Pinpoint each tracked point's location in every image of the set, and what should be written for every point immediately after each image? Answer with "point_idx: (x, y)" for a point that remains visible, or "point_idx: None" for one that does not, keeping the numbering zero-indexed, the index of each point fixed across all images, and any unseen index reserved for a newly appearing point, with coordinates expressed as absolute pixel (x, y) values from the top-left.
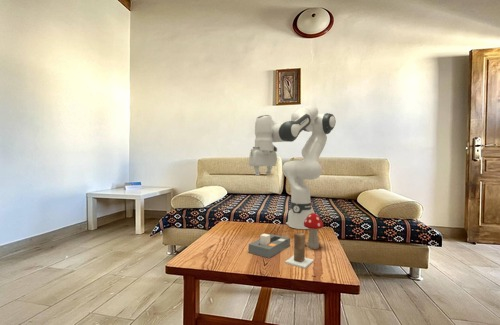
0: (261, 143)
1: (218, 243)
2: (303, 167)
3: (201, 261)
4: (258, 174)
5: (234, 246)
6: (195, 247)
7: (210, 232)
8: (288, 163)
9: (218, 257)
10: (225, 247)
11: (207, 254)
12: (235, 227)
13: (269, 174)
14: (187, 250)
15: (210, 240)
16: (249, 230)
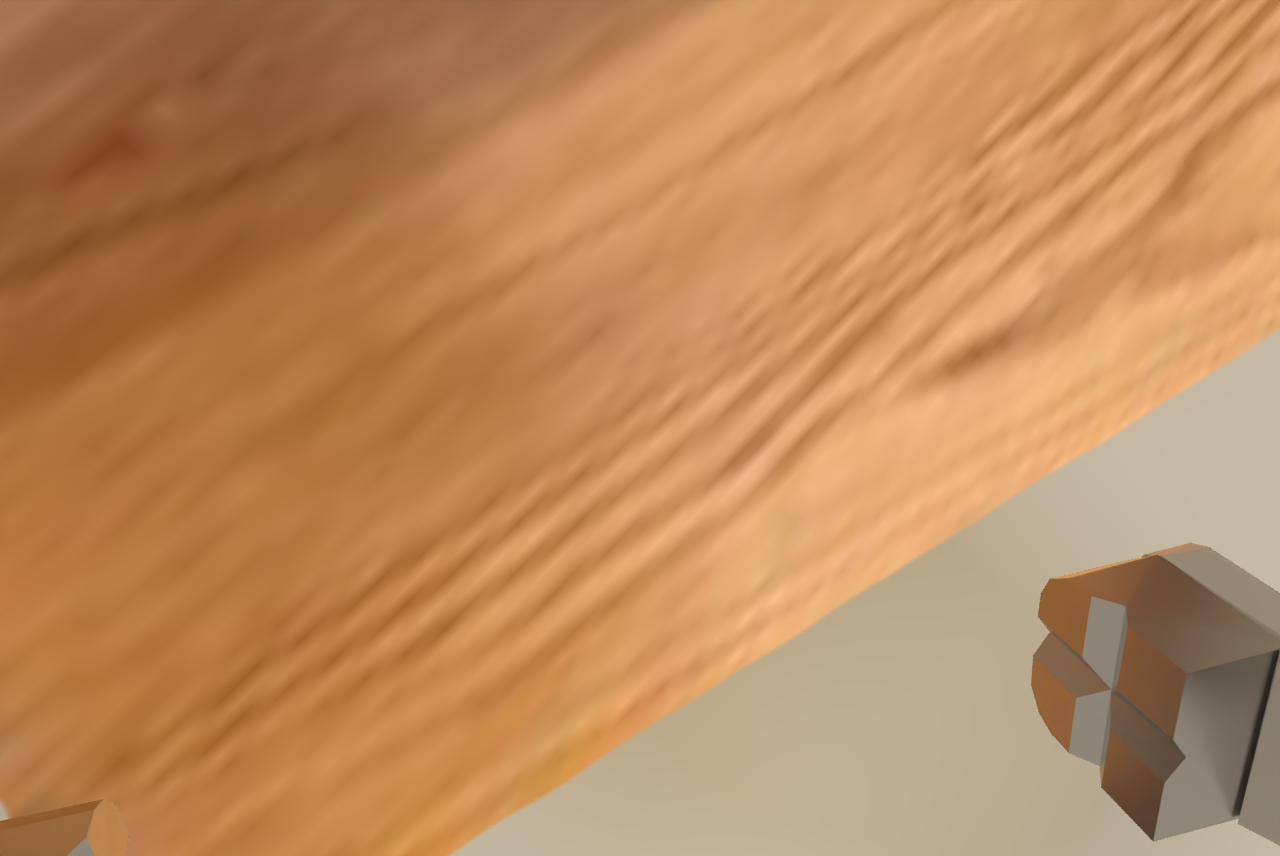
0: None
1: (886, 373)
2: None
3: (1269, 123)
4: (1230, 565)
5: (860, 188)
6: (1069, 423)
7: (688, 698)
8: None
9: (1150, 81)
10: (932, 234)
11: (1141, 212)
12: (339, 705)
13: (8, 825)
14: (1148, 406)
15: (867, 493)
16: (289, 507)
